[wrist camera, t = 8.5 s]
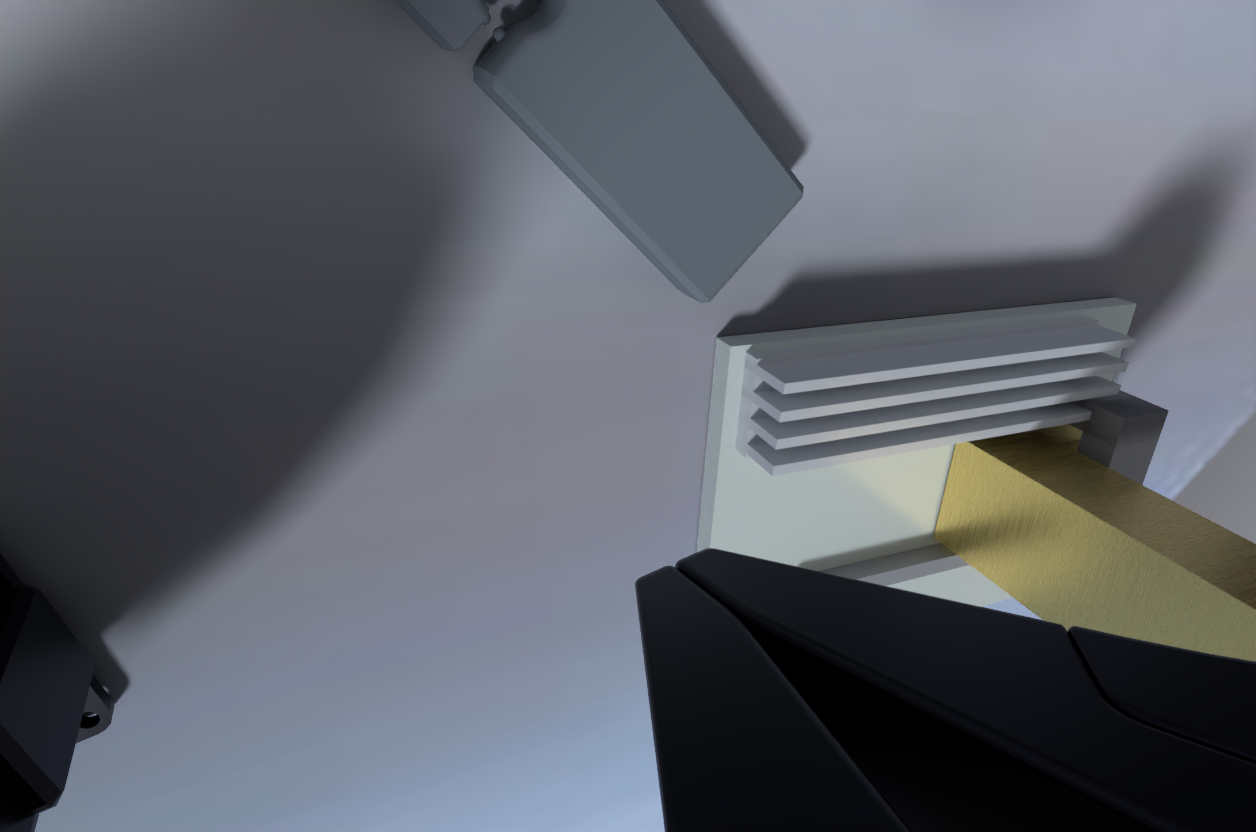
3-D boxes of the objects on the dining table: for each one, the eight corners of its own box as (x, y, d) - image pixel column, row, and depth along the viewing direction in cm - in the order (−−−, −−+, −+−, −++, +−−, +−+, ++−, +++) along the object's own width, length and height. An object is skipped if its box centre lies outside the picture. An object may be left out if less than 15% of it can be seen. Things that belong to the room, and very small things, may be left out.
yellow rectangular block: (933, 537, 29) (1252, 778, 19) (957, 435, 27) (1319, 647, 18) (1056, 509, 31) (1396, 713, 22) (1086, 413, 29) (1467, 591, 20)
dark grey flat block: (674, 290, 22) (708, 311, 20) (360, -29, 16) (372, -36, 15) (770, 180, 22) (812, 192, 20) (487, -182, 16) (515, -206, 14)
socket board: (685, 669, 28) (742, 754, 24) (716, 337, 23) (793, 389, 19) (1030, 577, 34) (1113, 636, 30) (1116, 297, 29) (1226, 331, 25)
